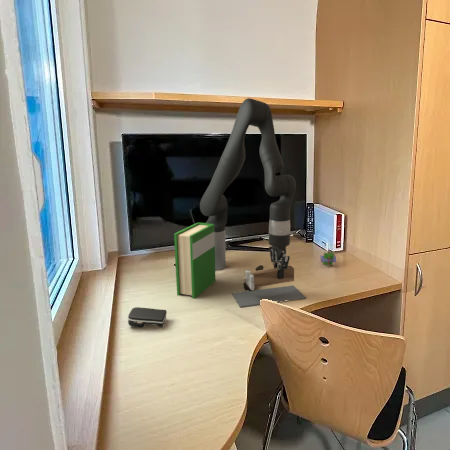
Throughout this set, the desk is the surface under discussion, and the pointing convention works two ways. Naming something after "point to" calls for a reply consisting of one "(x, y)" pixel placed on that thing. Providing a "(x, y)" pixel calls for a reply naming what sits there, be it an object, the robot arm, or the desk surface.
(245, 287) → the dark brown bar
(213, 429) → the desk surface
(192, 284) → the hardback book
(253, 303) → the mat
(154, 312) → the battery charger
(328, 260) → the geometric puzzle
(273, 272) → the stick
